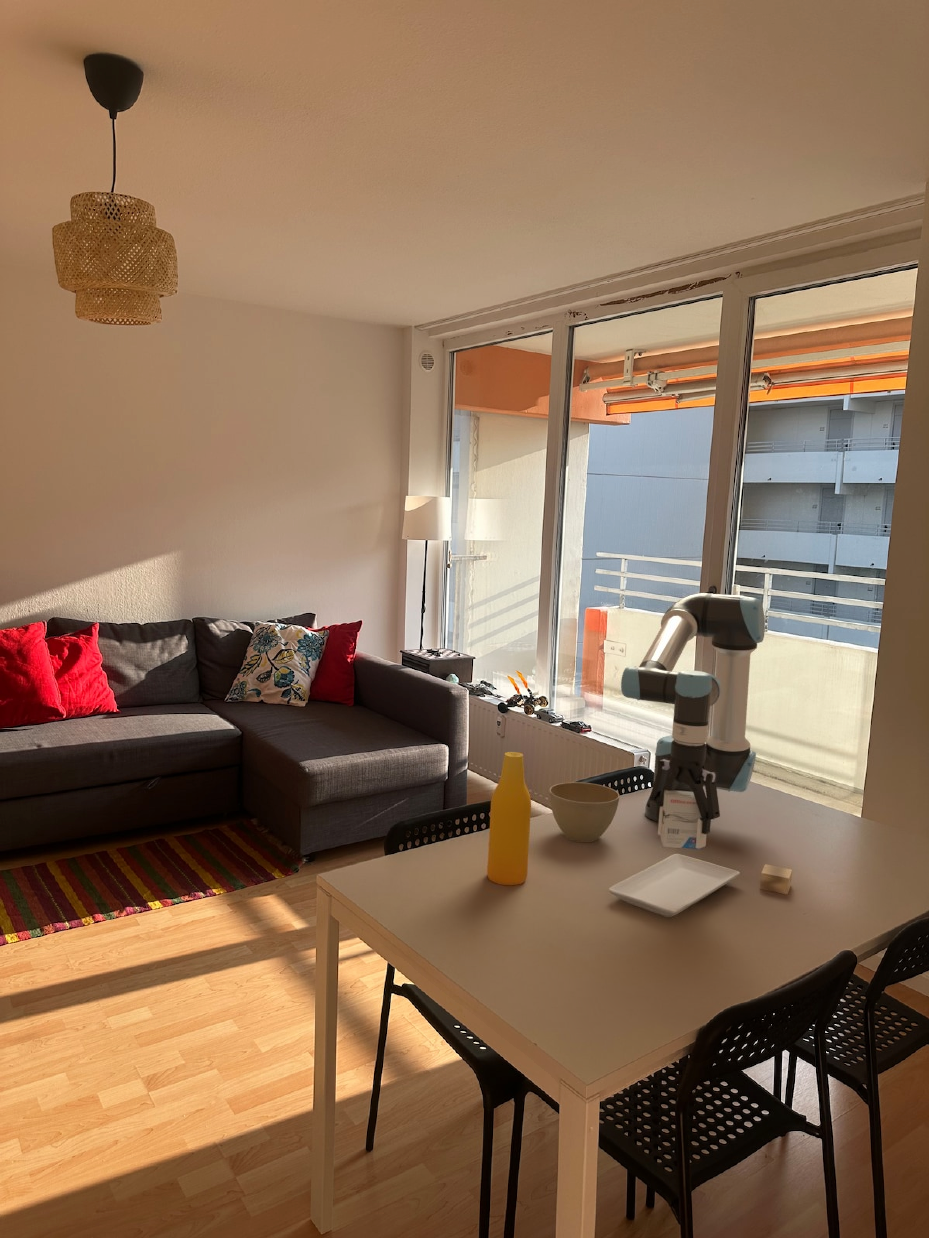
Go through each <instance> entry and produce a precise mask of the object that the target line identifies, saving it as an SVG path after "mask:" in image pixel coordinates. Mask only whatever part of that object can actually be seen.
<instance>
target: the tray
mask: <svg viewBox="0 0 929 1238" xmlns="http://www.w3.org/2000/svg"><path fill="white" fill-rule="evenodd" d="M740 875H741V872H740V871H739V870H736V869H732V868H730V867H725V866H721V865H718V864H715V863H713V862H709V861H706V860H702V859H698V858H695V857H691V856H688V855H683V854H681V853H674V854H672V855H670V856H668V857H666V858H664V859H662V860H661V861H658V862H657V863H655V864H653V865H651V866H649V867H647V868H645V869H643V870H641V871H639V872H637V873H635V874H633V875H631V876H629V877H627V878H625V879H623V880H621V881H619V882H617V883H615V884H614V885H612V886H610V887H609V888H608V891H609V893H611V894H612V895H614V896H615V897H617V898H619V899H621V900H623V901H625V902H626V903H627V904H630V905H632V906H636V907H639V908H641V909H644V910H647V911H649V912H652V913H655V914H658V915H659V916H663V917H666V918H673V916H676V915H678V914H679V913H682V912H683V911H684V910H687V909H688V908H689V907H691V906H693V905H695V904H697V903H699V901H701V900H702V899H704V898H706V897H707V896H709V895H711V894H713V893H714V892H716V891H717V890H719V889H721V888H722V887H723V886H725V885H726V884H728V883H730V882H731V881H733V880H734V879H736V878H737V877H738V876H740Z"/></svg>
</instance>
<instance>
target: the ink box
mask: <svg viewBox="0 0 929 1238" xmlns="http://www.w3.org/2000/svg"><path fill="white" fill-rule="evenodd" d="M699 818H702V817H701V814H700V811H699V809H698V806H697V803H696V800H695V797H694V794H693V792H687V791H675V790H671V791H667V790H665V792H664V803H663V815H662V828H661V836H660V841H661V846H662V847H664V848H675V849H676V848H677V849H690V850H692V849H693V850H702V848H703V847H702V848H699V849H698V848H696V838H697V825H698V819H699Z"/></svg>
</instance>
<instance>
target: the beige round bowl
mask: <svg viewBox="0 0 929 1238" xmlns="http://www.w3.org/2000/svg"><path fill="white" fill-rule="evenodd" d="M548 794H549V802H550V808H551V812H552V814H553V819H554V820H555V822H556V824H557V825H558V828H559V829H560V831H561V832H562V833H563V834H564V836H565V838H567V839H568V840H571V841H574V842H578V843H593V842H595V841H597V840H598V839H599V838H600V837H602V835H603V834H604V833H605V832H606V830H608V828H609V827H610V825H611V824H612V822H613V820H614V817H615V816H616V812H617V809H618V806H619V802H620V793H619V792H618V791H617V790H615V789H613V788H611V787H608V786H605V785H601V784H597V783H588V782H579V781H578V782H577V781H576V782H574V781H571V782H562V783H557V784H554V785H552V786H551V787H550V788H549V793H548Z"/></svg>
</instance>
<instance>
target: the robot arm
mask: <svg viewBox="0 0 929 1238" xmlns="http://www.w3.org/2000/svg"><path fill="white" fill-rule="evenodd" d="M765 625H766V624H765V613H764V607H763V604H762V602H761V600H760V599H758V598H757V597H750V596H745V595H738V594H737V595H734V594H718V593H715V594H714V593H706V592H700V593H694V594H691V595H688V596H686V597H682V598H681V599H679V600H677V602H675V603H673V604H672V605H671V606H669V608H668V609H667V610H666V611H665V612H664V614H663V616H662V618H661V620H660V629H659V631H658V633H657V635H656V636H655V638H654V640H653V641H652V643H651V645H650V647H649V648H648V650H647V652H646V653H645V655H644V657H643V659H642V660H641V662H640V665H638V666H627V667H625V668H624V670H623V672H622V675H621V681H620V690H621V693H622V695H623V697H625V698H629V699H634V700H637V701H647V702H655V703H661V704H663V703H664V704H669V705H673V706H674V708H673V721H672V734H671V735H665V736H662V737H661V738H659V739H658V740H657V742H656V748H655V753H654V756H655V757H654V772H653V785H652V789H651V791H650V795H649V797H648V799H647V801H646V804H645V809H644V810H645V811H644V815H645V816H646V817H647V818H648V819H650V820H652V821H654V822H656V823H658V825H657V826H658V829H657V835H658V836H660V837H661V828H662V815H663V803H664V792H665V790H667V791H671V790H675V791H687V792H693V794H694V797H695V800H696V803H697V806H698V809H699V811H700V814H701V817H702V818H699V819H698V825H697V838H696V848H698V849H697V850H700V849H699V848H705V847H706V844H707V834H710V831H711V824H712V823H711V822H712V821H711V820H715V819H718V818H720V817H721V813H720V812H721V811H720V805H719V804H720V803H719V798H718V797H719V796H718V790H721V791H727V792H728V793H729V792H736V793H737V792H738V793H743V792H746V791H747V789H748V788H749V785H750V782H751V780H752V775H753V771H754V767H755V763H756V759H757V757H756V756H757V752H756V751H754V750H751V742H750V741H749V740H748V739H747V738H746V728H747V710H748V698H749V697H748V695H749V683H750V681H749V680H750V667H751V655H752V653H753V652H755V651H756V650H757V648H758V644H760V643H763V641H764V638H765V629H766V628H765ZM694 637H702V638H703V637H704V638H711V647H712V648H713V649H714V650H716V664H715V675H713V674H712V673H708V672H707V671H705V672H704V671H700V670H681V671H673V670H674V668H675V667H676V664H677V663H678V662H679V661H678V660H679V658H680V657H681V656H682V654H683V651H684V649H685V647H686V646H687V643H689V641H691V640H692V639H693V638H694ZM712 706H713V714H712V715H713V718H712V734H711V735H710V736H708V733H709V732H708V731H709V717H710V716H709V715H710V708H711V707H712ZM704 789H705V790H704Z"/></svg>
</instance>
